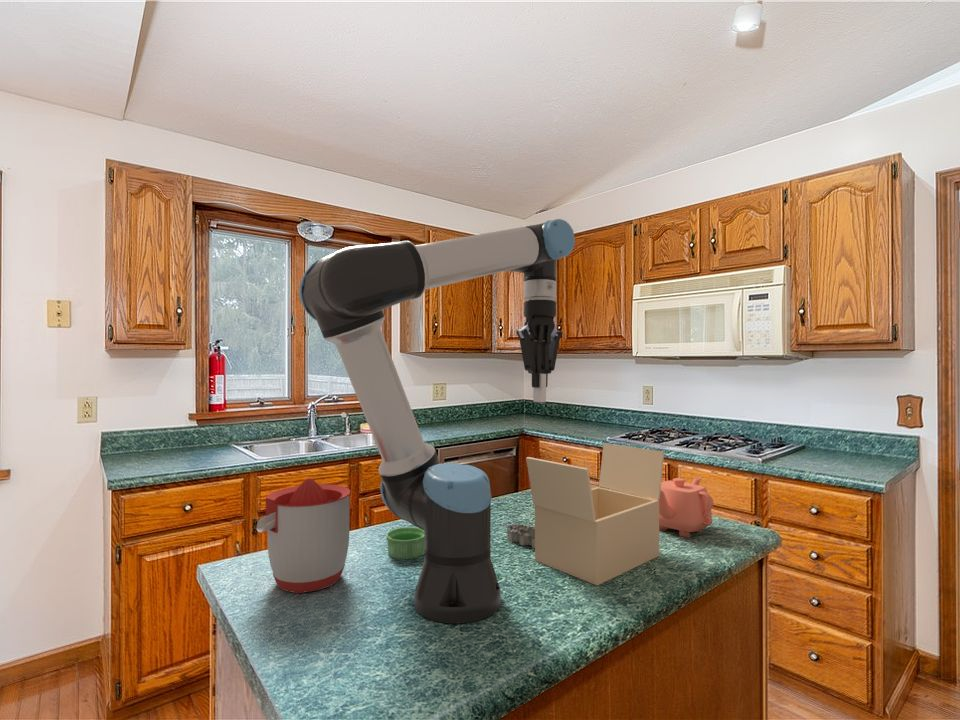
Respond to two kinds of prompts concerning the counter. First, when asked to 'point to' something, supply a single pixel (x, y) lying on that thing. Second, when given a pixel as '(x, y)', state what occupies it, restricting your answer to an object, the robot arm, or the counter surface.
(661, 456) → the far flap
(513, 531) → the egg carton
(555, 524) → the carton
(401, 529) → the ramekin
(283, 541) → the citrus juicer
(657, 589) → the counter surface
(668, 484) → the teapot
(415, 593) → the robot arm
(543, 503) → the near flap
